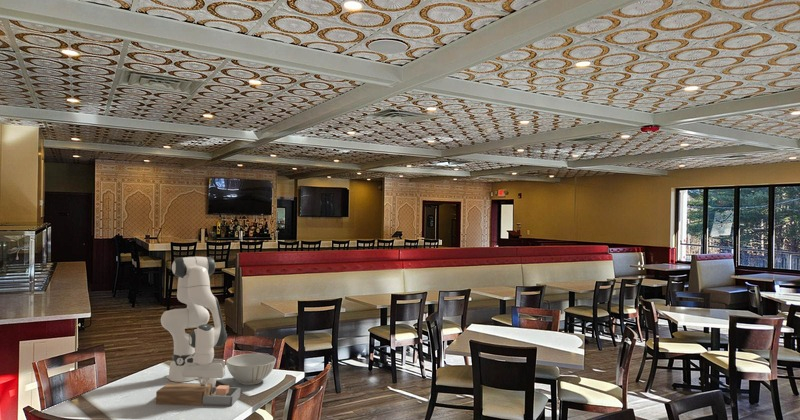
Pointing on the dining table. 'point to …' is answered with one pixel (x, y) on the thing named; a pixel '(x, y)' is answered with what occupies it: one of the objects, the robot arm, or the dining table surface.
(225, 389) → the salmon orange block
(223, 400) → the box
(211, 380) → the foam cup
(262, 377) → the decorative bowl
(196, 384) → the walnut platform
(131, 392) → the dining table surface
